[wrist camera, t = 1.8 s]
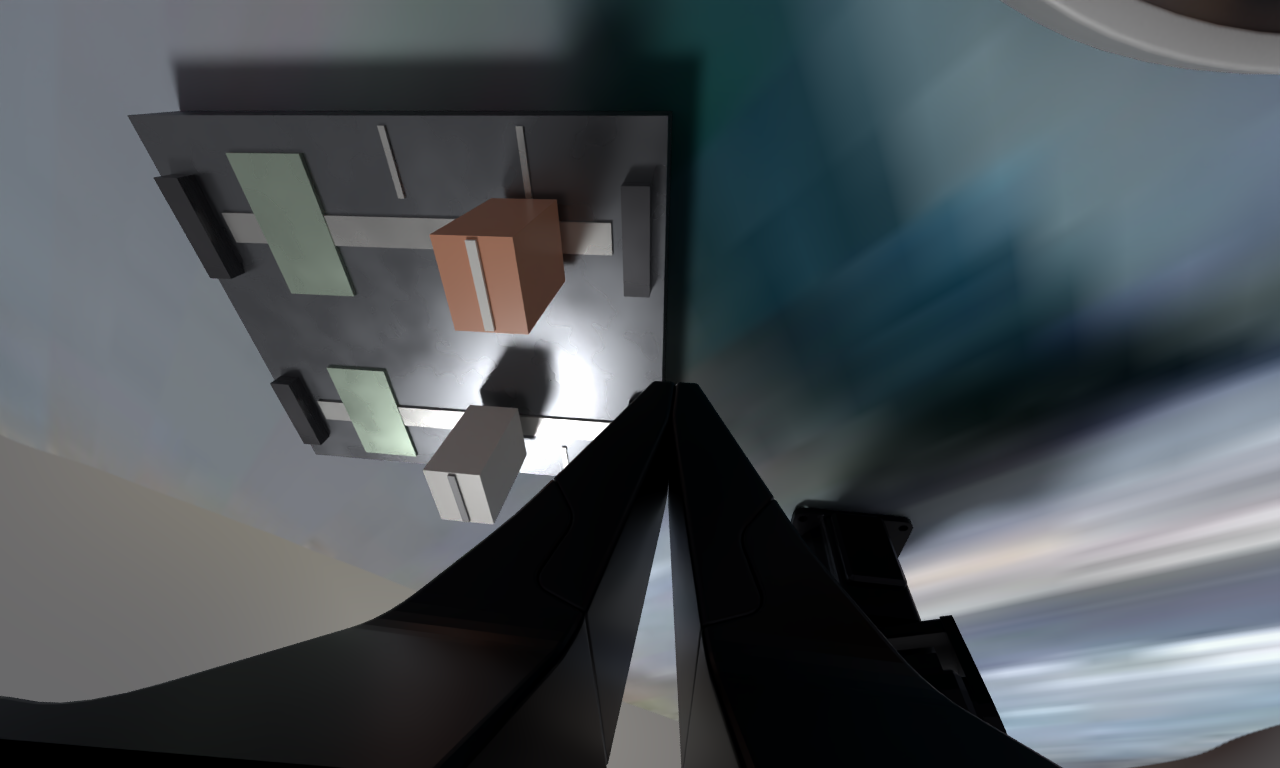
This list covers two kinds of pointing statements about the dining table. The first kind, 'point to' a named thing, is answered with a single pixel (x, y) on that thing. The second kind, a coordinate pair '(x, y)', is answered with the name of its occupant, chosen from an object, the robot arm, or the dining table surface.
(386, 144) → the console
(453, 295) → the block
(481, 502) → the fader
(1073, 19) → the bowl
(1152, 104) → the dining table surface
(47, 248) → the dining table surface
